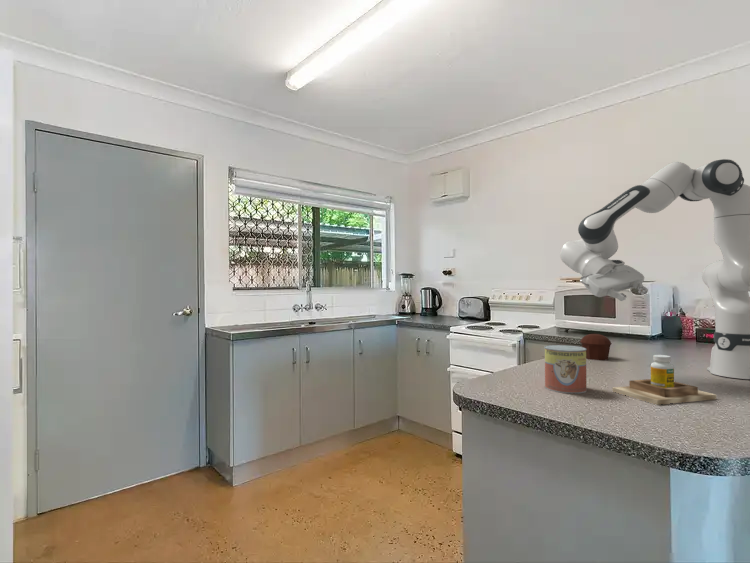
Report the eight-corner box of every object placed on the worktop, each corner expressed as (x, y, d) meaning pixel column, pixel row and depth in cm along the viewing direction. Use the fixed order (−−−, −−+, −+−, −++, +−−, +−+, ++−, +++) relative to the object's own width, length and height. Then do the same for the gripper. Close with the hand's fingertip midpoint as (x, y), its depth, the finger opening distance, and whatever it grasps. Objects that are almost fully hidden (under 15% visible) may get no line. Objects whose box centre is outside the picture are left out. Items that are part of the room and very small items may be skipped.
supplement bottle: (655, 387, 120) (655, 353, 120) (677, 391, 116) (677, 356, 116) (647, 390, 117) (646, 355, 117) (669, 394, 113) (668, 358, 113)
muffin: (617, 359, 174) (616, 334, 174) (603, 361, 168) (602, 336, 168) (588, 355, 184) (588, 332, 184) (574, 357, 178) (574, 333, 178)
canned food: (545, 391, 121) (545, 349, 121) (544, 383, 132) (543, 344, 132) (589, 395, 117) (588, 351, 117) (584, 385, 128) (584, 346, 128)
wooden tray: (667, 387, 126) (667, 376, 126) (716, 399, 112) (716, 387, 112) (612, 391, 120) (612, 380, 120) (657, 405, 107) (656, 392, 107)
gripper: (579, 270, 137) (614, 294, 127) (624, 259, 144) (661, 280, 134) (573, 286, 141) (607, 310, 131) (618, 274, 148) (653, 296, 138)
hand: (635, 295), depth 132 cm, fingers open, 8 cm apart
